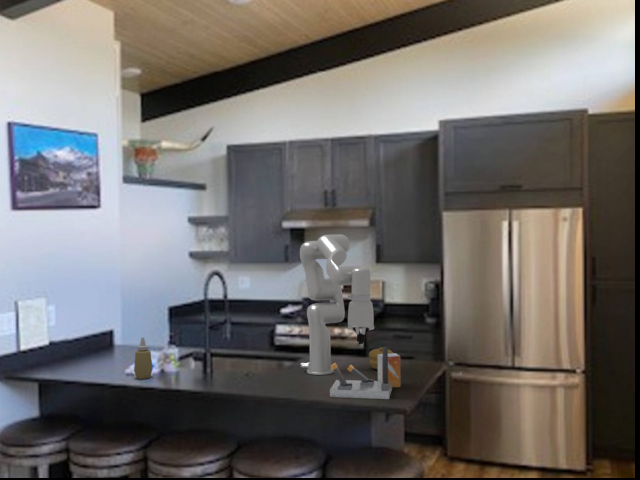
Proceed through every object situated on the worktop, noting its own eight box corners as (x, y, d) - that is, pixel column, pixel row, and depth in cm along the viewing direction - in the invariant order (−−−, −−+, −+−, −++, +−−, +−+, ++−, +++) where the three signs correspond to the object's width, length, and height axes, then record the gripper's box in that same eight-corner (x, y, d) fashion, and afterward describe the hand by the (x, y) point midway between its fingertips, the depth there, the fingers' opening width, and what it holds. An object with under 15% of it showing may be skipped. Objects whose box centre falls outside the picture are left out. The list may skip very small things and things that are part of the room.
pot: (366, 371, 301) (366, 349, 300) (371, 365, 312) (370, 344, 312) (392, 372, 298) (392, 350, 298) (395, 366, 309) (395, 345, 309)
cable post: (381, 390, 254) (380, 348, 254) (382, 388, 257) (381, 346, 257) (389, 390, 254) (388, 348, 253) (389, 388, 257) (389, 346, 257)
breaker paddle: (364, 383, 263) (347, 369, 264) (365, 381, 266) (348, 367, 267) (367, 380, 263) (349, 365, 264) (368, 378, 266) (350, 364, 267)
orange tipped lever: (342, 386, 258) (330, 366, 258) (343, 384, 261) (331, 364, 261) (345, 384, 257) (334, 364, 258) (347, 382, 260) (335, 362, 261)
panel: (330, 397, 257) (329, 386, 257) (336, 387, 272) (336, 377, 272) (389, 399, 252) (388, 388, 252) (392, 388, 268) (391, 378, 268)
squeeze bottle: (156, 376, 296) (155, 337, 296) (144, 380, 289) (143, 340, 289) (142, 375, 300) (141, 335, 299) (130, 379, 292) (129, 338, 292)
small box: (382, 388, 269) (381, 356, 269) (377, 384, 275) (377, 353, 275) (401, 387, 271) (400, 355, 270) (395, 383, 277) (395, 352, 277)
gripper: (341, 299, 262) (341, 345, 263) (378, 300, 259) (378, 346, 260) (343, 296, 269) (343, 341, 270) (380, 297, 266) (380, 342, 267)
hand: (360, 343), depth 265 cm, fingers closed
